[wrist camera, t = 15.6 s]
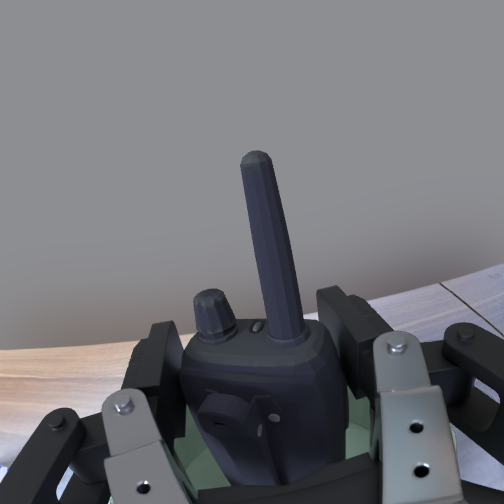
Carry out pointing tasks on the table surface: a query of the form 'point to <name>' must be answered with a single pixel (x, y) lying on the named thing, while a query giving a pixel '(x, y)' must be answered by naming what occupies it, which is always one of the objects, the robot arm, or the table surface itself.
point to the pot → (211, 476)
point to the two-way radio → (265, 363)
